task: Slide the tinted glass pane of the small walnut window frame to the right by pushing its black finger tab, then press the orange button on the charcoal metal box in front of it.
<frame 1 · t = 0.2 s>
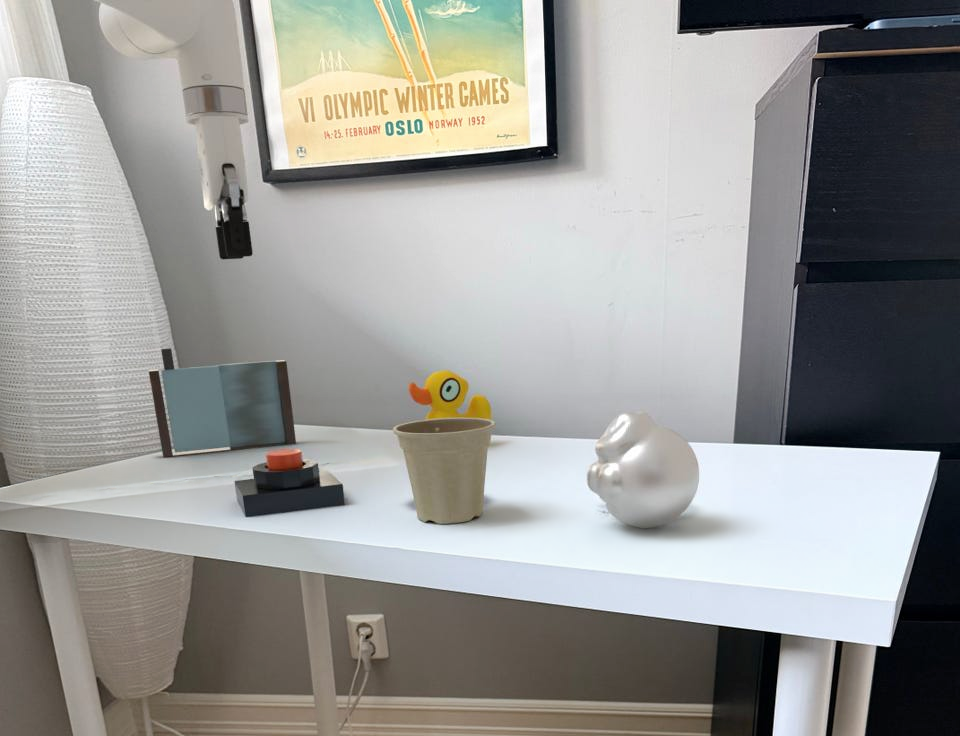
hand: (235, 257, 121), 25 cm above the table, tool pointing down, fingers open, 9 cm apart
window frame: (231, 459, 122), on the table
button: (284, 460, 95), point 4 cm above the table, slide at 0.1 cm
pearly white lumpy ball: (641, 528, 82), on the table
button box: (289, 503, 97), on the table
duckling: (454, 449, 123), on the table
window pane: (194, 399, 118), point 8 cm above the table, slide at 0.0 cm
flower pot: (449, 518, 88), on the table
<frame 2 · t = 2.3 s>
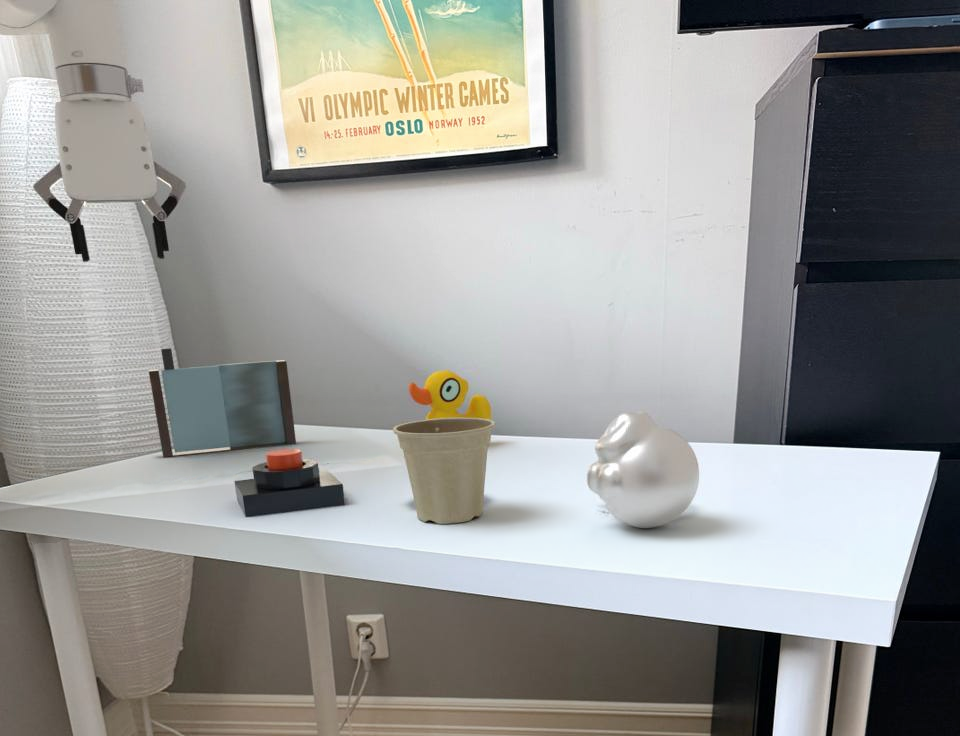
hand: (123, 259, 110), 25 cm above the table, tool pointing down, fingers open, 7 cm apart
nothing on the table moved.
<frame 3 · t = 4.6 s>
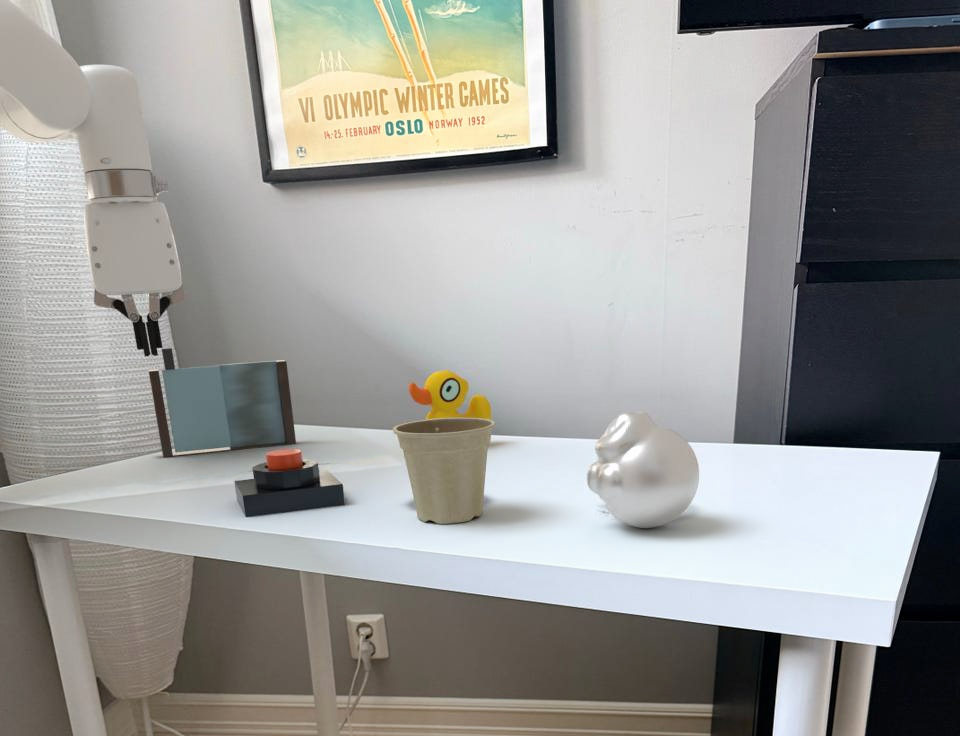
hand: (151, 355, 114), 14 cm above the table, tool pointing down, fingers closed
window pane: (195, 399, 118), point 8 cm above the table, slide at 0.1 cm, touching gripper
everything else where it was.
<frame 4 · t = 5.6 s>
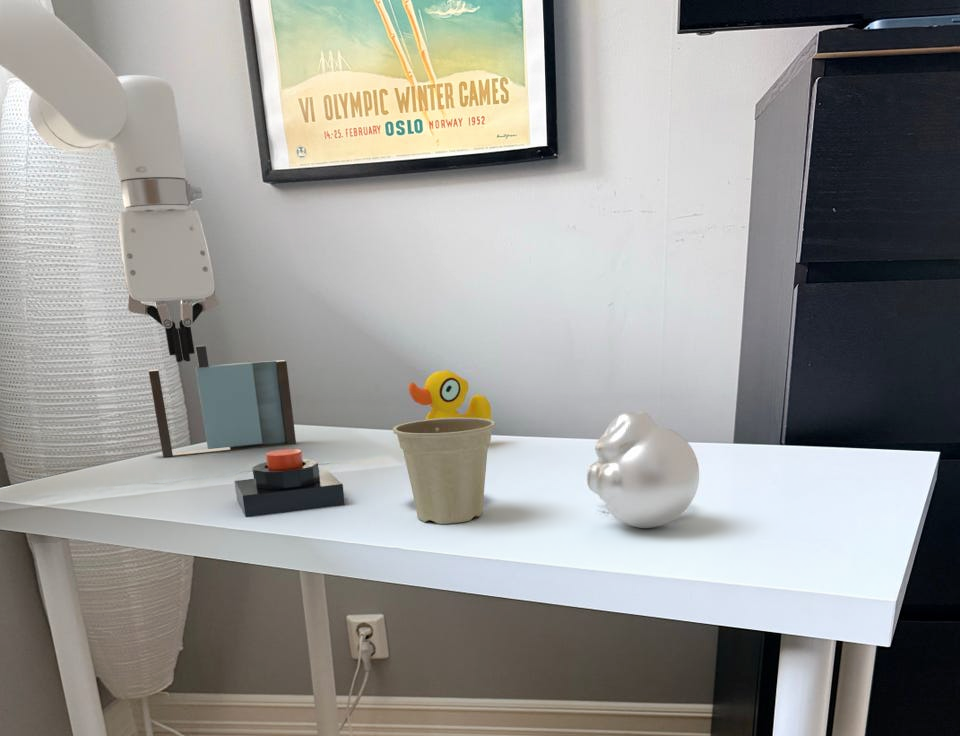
hand: (183, 360, 116), 13 cm above the table, tool pointing down, fingers closed
window pane: (228, 396, 119), point 8 cm above the table, slide at 4.2 cm, touching gripper
everything else where it was.
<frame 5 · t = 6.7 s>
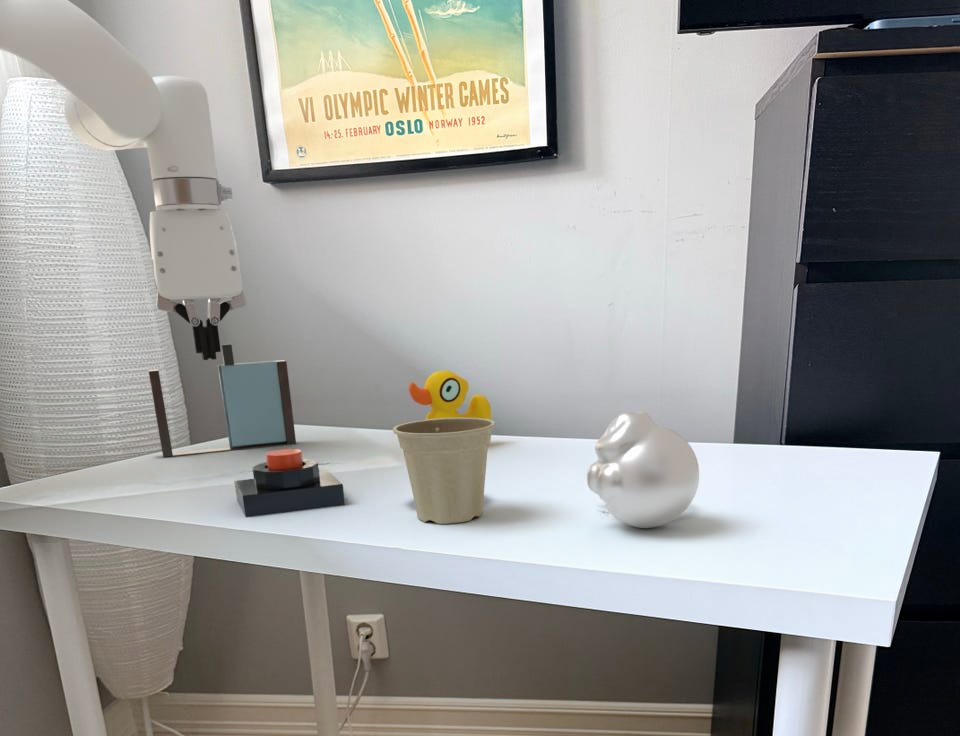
hand: (209, 358, 117), 13 cm above the table, tool pointing down, fingers closed
window pane: (253, 394, 120), point 8 cm above the table, slide at 7.3 cm, touching gripper, window frame
everything else where it was.
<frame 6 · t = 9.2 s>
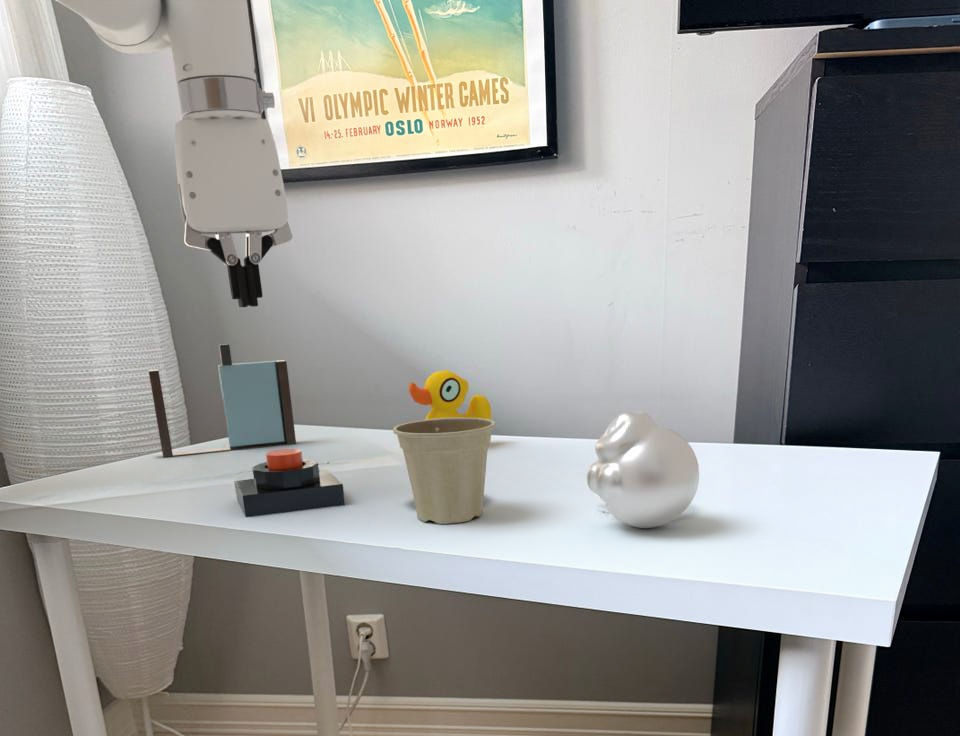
hand: (248, 306, 97), 19 cm above the table, tool pointing down, fingers closed
window pane: (251, 394, 120), point 8 cm above the table, slide at 7.0 cm
everything else where it was.
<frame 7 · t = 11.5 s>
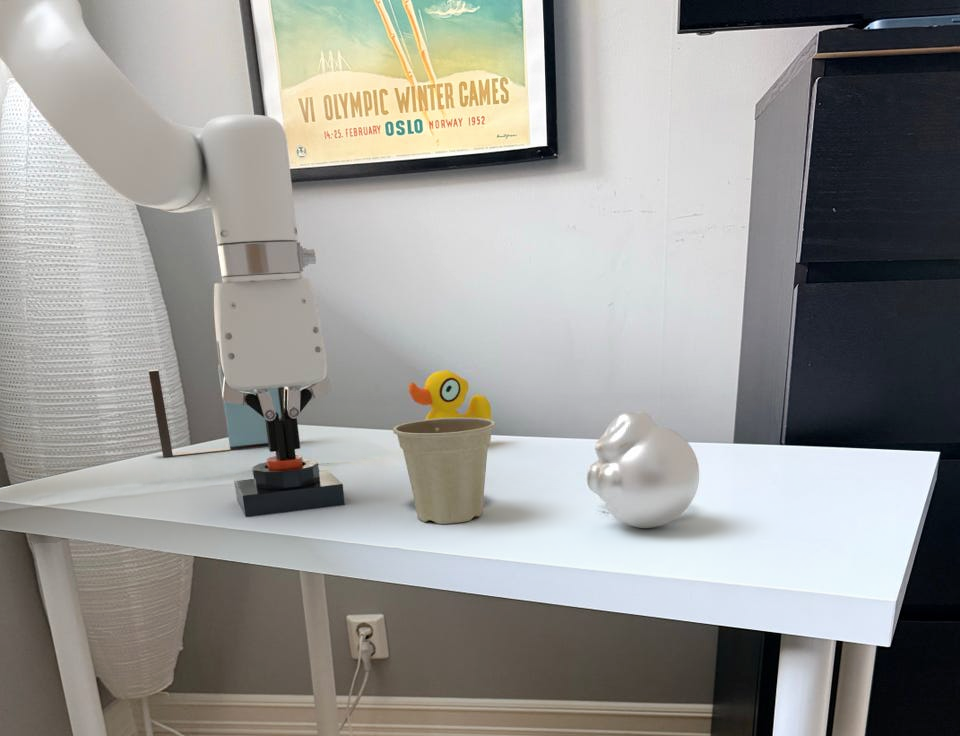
hand: (285, 457, 95), 5 cm above the table, tool pointing down, fingers closed
button: (285, 466, 95), point 4 cm above the table, slide at -0.5 cm, touching gripper
everything else where it was.
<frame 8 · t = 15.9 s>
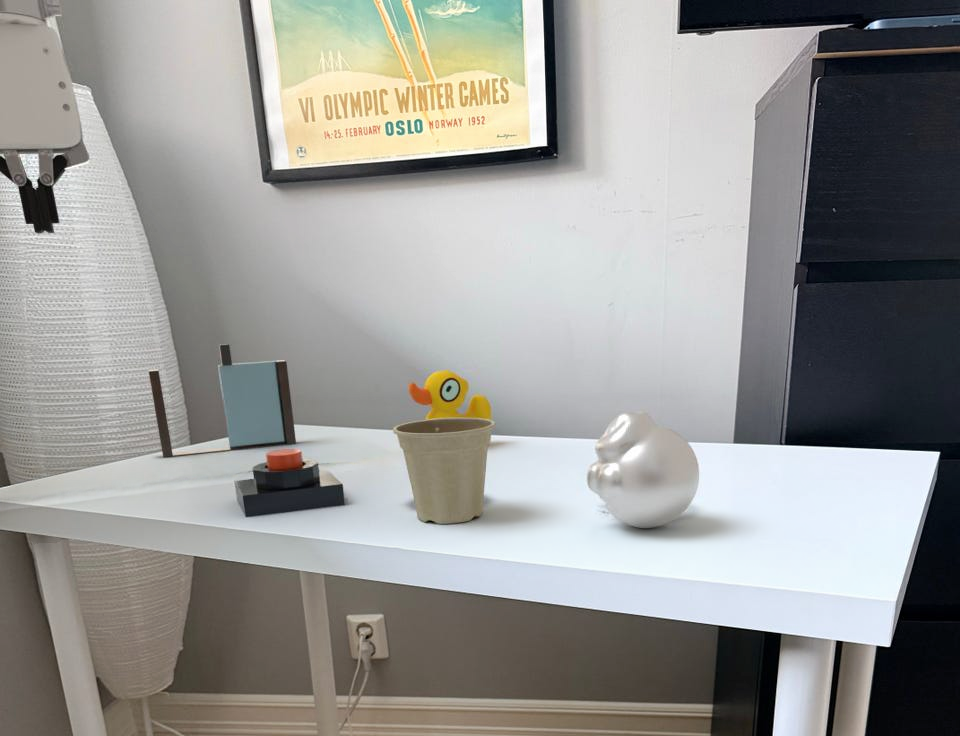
hand: (44, 232, 91), 27 cm above the table, tool pointing down, fingers closed
button: (284, 460, 95), point 4 cm above the table, slide at 0.1 cm
everything else where it was.
at the end: window pane slide at 7.0 cm; button pushed in 1.1 cm at the most during the clip, back to where it started at the end; button slide at 0.1 cm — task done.
